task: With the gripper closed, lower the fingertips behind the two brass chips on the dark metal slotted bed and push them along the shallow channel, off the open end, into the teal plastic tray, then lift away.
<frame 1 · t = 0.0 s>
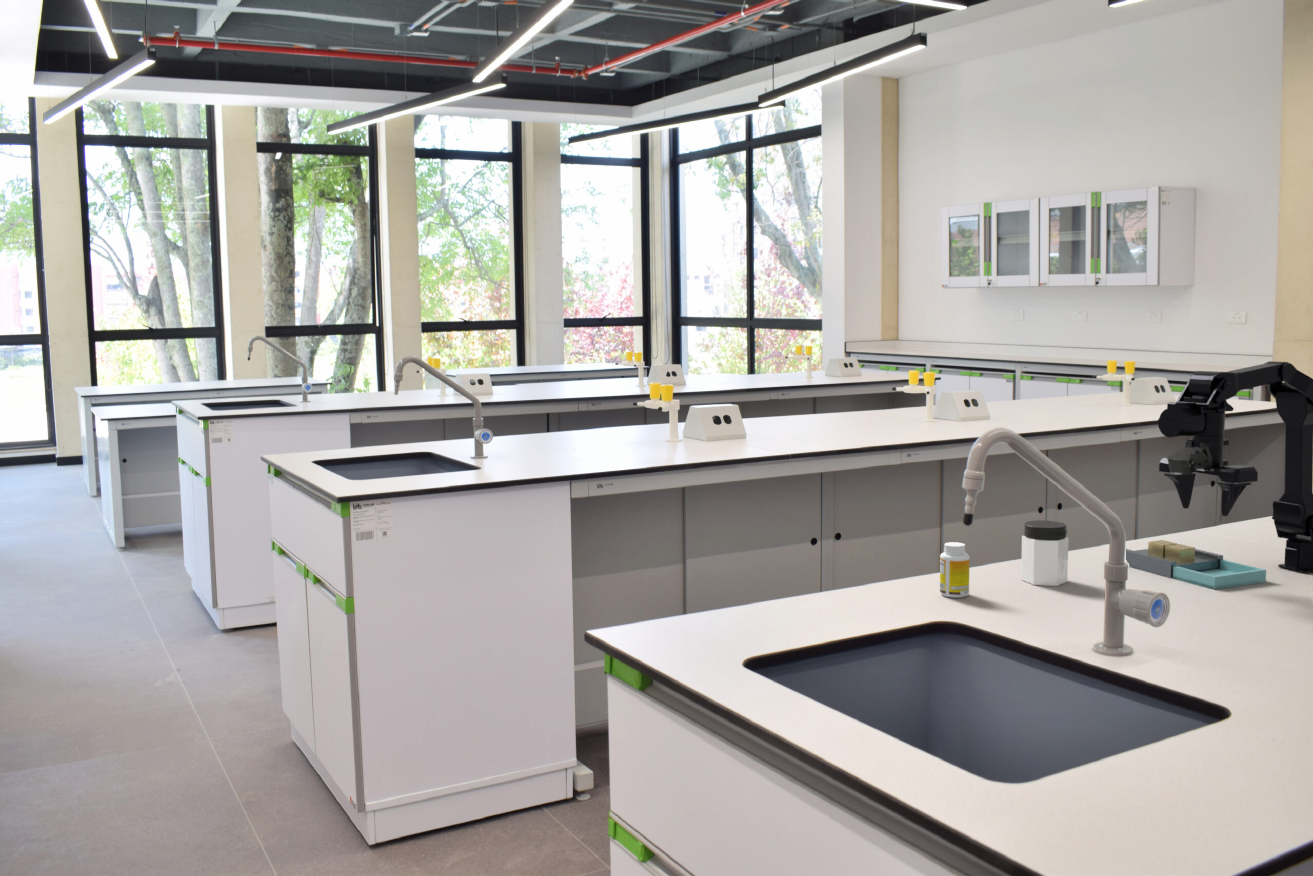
hand: (1204, 512, 209), 15 cm above the counter, fingers open, 9 cm apart
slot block: (1169, 567, 225), on the counter
supplement bottle: (954, 596, 206), on the counter
tray: (1218, 580, 213), on the counter
chip a: (1162, 554, 226), point 2 cm above the counter, touching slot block
jar: (1044, 582, 215), on the counter
chip b: (1179, 558, 222), point 2 cm above the counter, touching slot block
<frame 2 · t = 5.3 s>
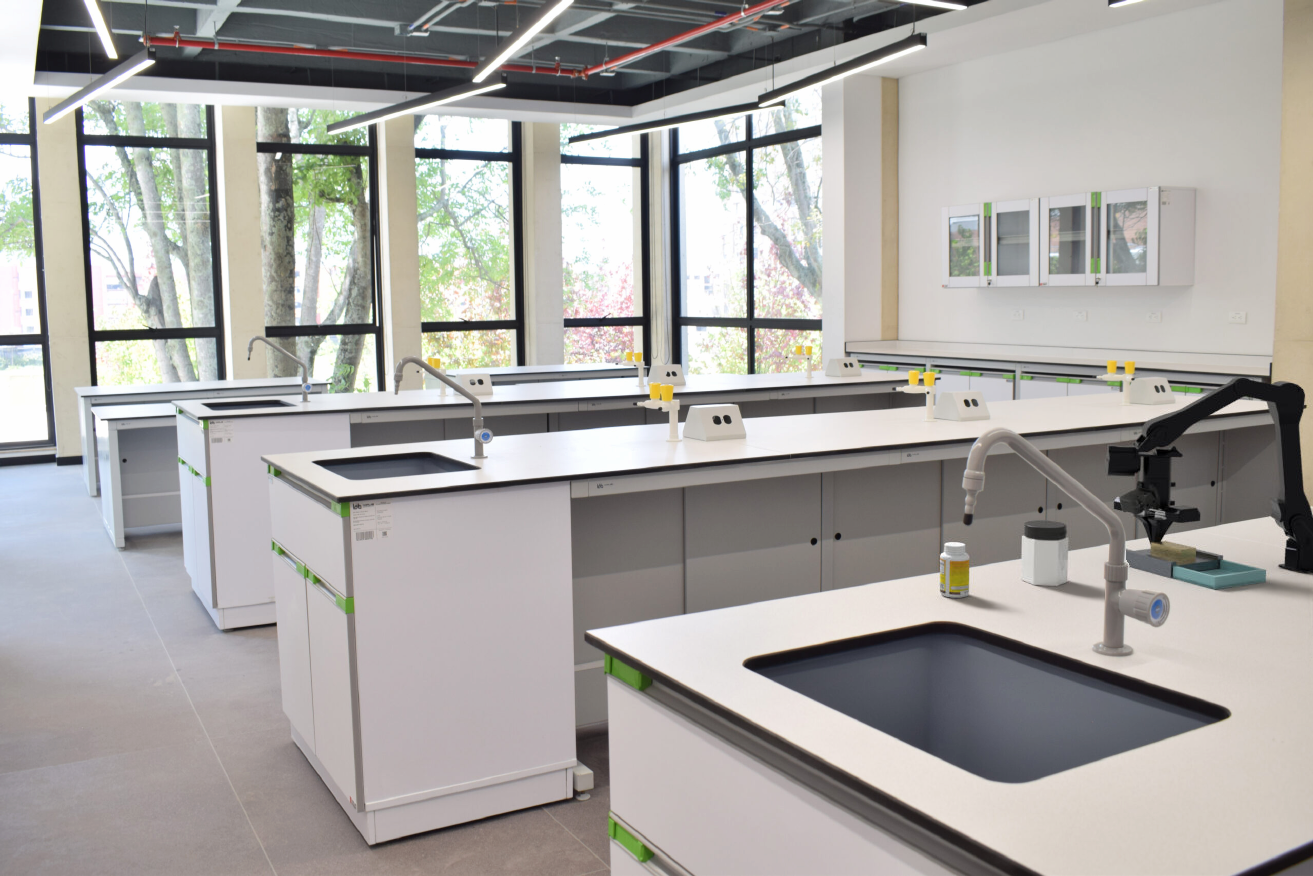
hand: (1154, 547, 228), 3 cm above the counter, fingers closed
chip a: (1165, 554, 225), point 2 cm above the counter, touching chip b, gripper, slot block
chip b: (1180, 558, 222), point 3 cm above the counter, touching chip a, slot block
everything else where it was.
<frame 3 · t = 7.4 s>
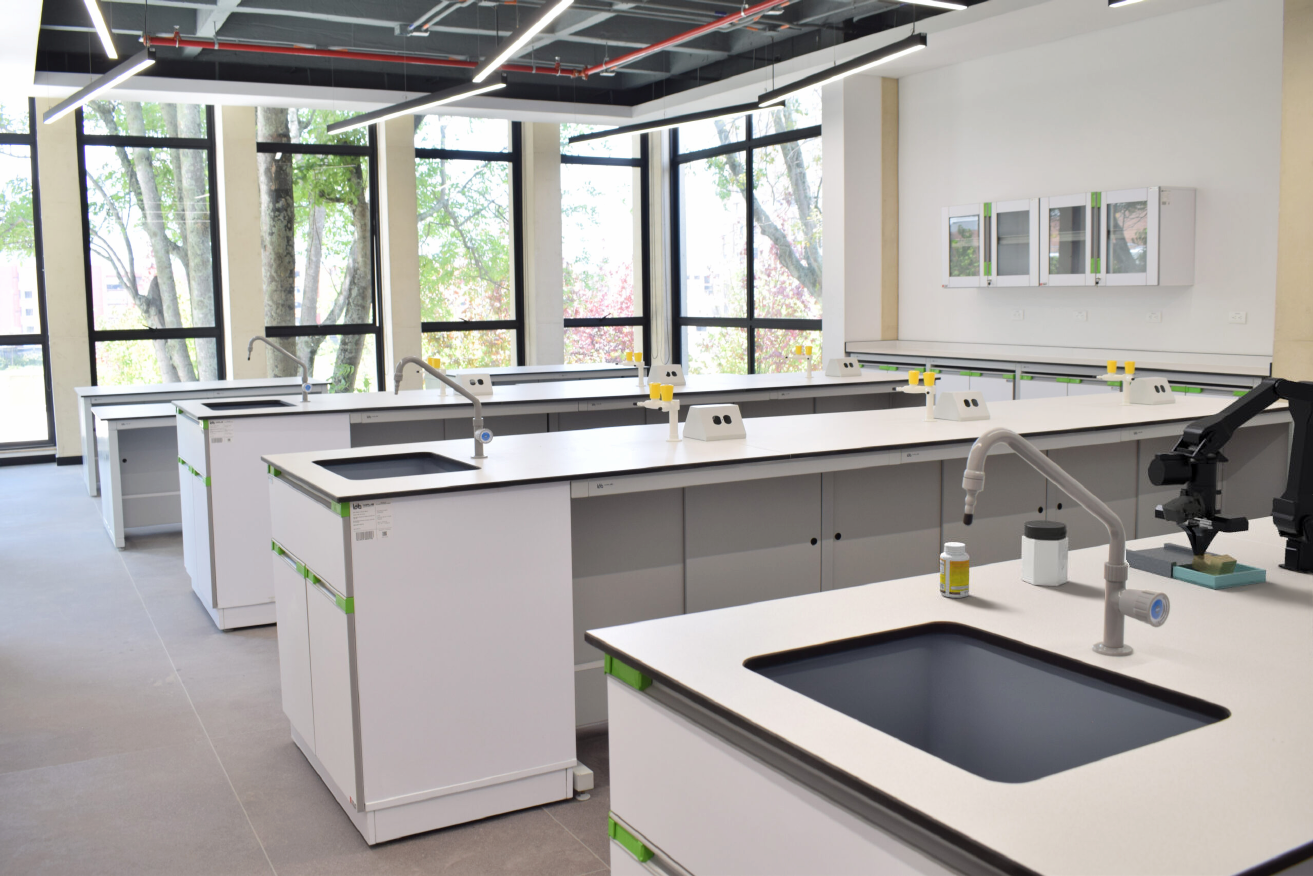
hand: (1198, 558, 218), 3 cm above the counter, fingers closed
chip a: (1205, 569, 216), point 1 cm above the counter, tilted 17°, touching chip b, gripper
chip b: (1217, 564, 213), point 3 cm above the counter, tilted 106°, touching chip a
everything else where it was.
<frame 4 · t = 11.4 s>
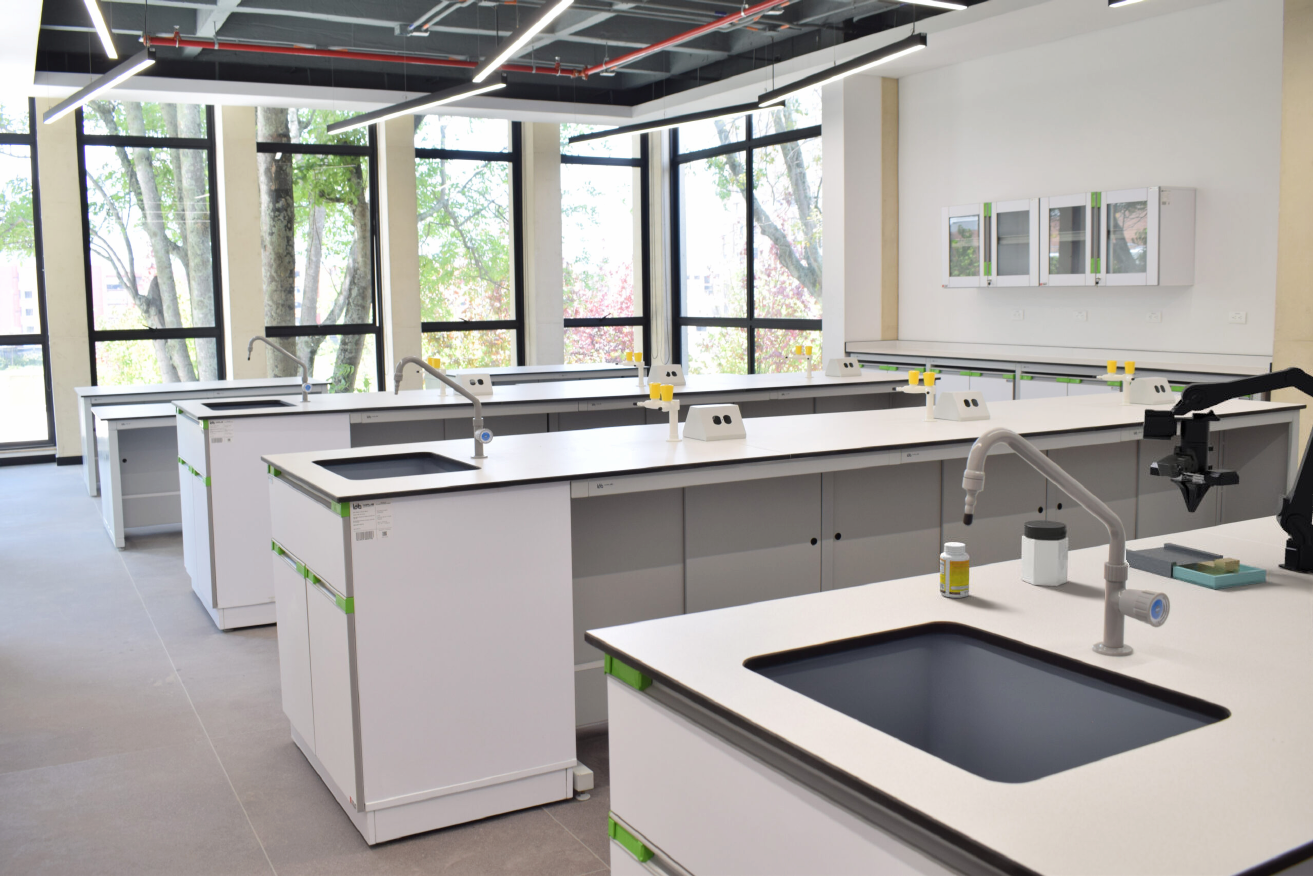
hand: (1191, 512, 228), 11 cm above the counter, fingers closed
chip a: (1212, 575, 214), point 1 cm above the counter, touching tray
chip b: (1221, 568, 212), point 3 cm above the counter, tilted 90°, touching tray
everything else where it was.
at the end: chip a inside the target area on the tray (1.2 cm from its centre), point 0.6 cm above the tray's base; chip b inside the target area on the tray (0.9 cm from its centre), point 2.6 cm above the tray's base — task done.
